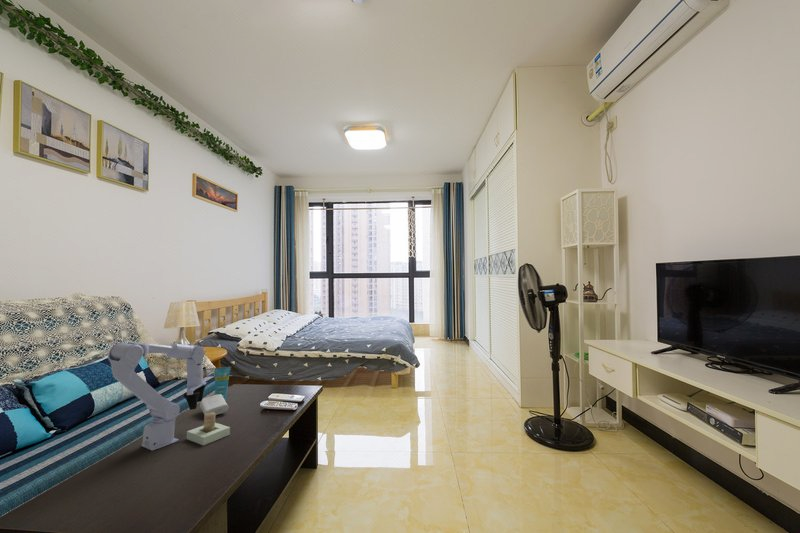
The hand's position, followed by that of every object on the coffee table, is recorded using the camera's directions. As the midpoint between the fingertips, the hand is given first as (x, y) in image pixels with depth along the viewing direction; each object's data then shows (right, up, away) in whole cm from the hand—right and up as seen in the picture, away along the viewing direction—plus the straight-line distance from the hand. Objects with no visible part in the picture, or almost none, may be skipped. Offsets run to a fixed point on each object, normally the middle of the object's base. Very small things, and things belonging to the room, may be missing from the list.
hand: (196, 405), depth 140 cm
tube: (-5, -13, +28) cm, 31 cm away
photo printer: (+1, -9, +15) cm, 18 cm away
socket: (+9, -10, -6) cm, 15 cm away
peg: (+9, -10, -6) cm, 15 cm away
